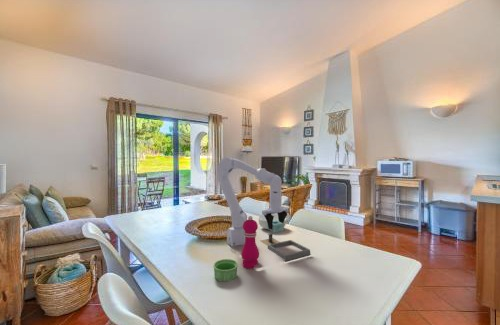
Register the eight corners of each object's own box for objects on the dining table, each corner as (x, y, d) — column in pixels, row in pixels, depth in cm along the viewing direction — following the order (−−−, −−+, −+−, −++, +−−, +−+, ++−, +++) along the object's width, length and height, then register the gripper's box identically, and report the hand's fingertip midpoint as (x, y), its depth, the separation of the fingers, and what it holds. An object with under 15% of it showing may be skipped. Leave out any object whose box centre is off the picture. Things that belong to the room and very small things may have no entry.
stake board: (268, 248, 111) (268, 237, 111) (259, 242, 118) (259, 232, 118) (281, 244, 115) (281, 235, 115) (272, 239, 122) (272, 230, 122)
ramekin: (215, 284, 80) (215, 271, 79) (211, 271, 88) (211, 260, 88) (240, 280, 82) (240, 268, 82) (234, 268, 91) (234, 257, 91)
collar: (275, 232, 108) (275, 225, 108) (267, 229, 114) (267, 222, 114) (284, 231, 111) (284, 223, 111) (276, 227, 117) (276, 220, 117)
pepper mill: (261, 262, 96) (261, 214, 95) (256, 270, 89) (256, 219, 88) (244, 259, 98) (245, 213, 98) (238, 267, 91) (238, 217, 91)
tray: (285, 262, 96) (285, 255, 96) (267, 250, 108) (267, 244, 108) (310, 255, 103) (310, 249, 103) (290, 245, 115) (290, 239, 115)
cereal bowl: (288, 234, 131) (288, 221, 131) (258, 233, 131) (258, 221, 131) (284, 225, 148) (284, 214, 148) (258, 224, 148) (258, 214, 148)
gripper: (267, 203, 106) (267, 232, 106) (292, 200, 113) (292, 227, 113) (259, 200, 112) (259, 228, 112) (283, 197, 119) (283, 224, 119)
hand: (275, 227), depth 113 cm, fingers closed on collar, 6 cm apart
